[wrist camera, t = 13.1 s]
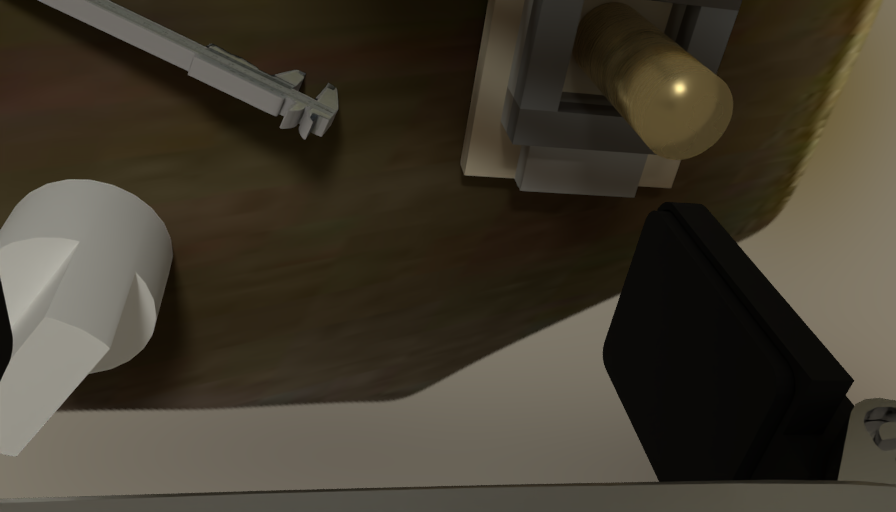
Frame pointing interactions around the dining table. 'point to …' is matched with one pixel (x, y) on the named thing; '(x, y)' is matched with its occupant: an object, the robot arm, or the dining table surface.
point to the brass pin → (652, 81)
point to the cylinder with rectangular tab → (75, 294)
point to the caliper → (212, 65)
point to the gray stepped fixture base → (570, 97)
